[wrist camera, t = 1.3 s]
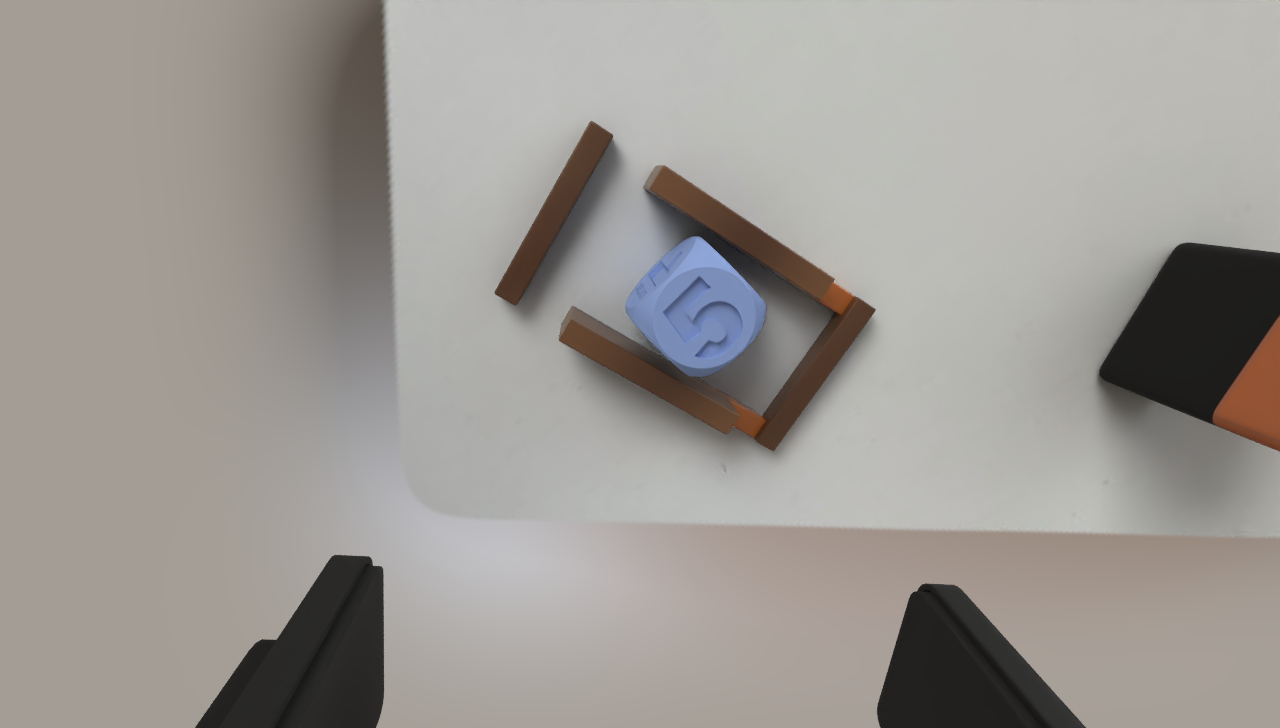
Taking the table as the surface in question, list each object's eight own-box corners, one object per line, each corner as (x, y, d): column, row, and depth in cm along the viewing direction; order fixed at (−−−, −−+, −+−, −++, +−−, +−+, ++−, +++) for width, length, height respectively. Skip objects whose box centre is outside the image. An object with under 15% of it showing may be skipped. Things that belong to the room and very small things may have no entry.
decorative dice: (688, 229, 25) (707, 240, 21) (752, 296, 26) (780, 317, 22) (621, 298, 26) (626, 320, 22) (685, 360, 27) (702, 392, 23)
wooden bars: (497, 289, 25) (487, 301, 23) (590, 122, 23) (591, 116, 21) (767, 442, 28) (784, 467, 26) (866, 304, 27) (893, 318, 24)
